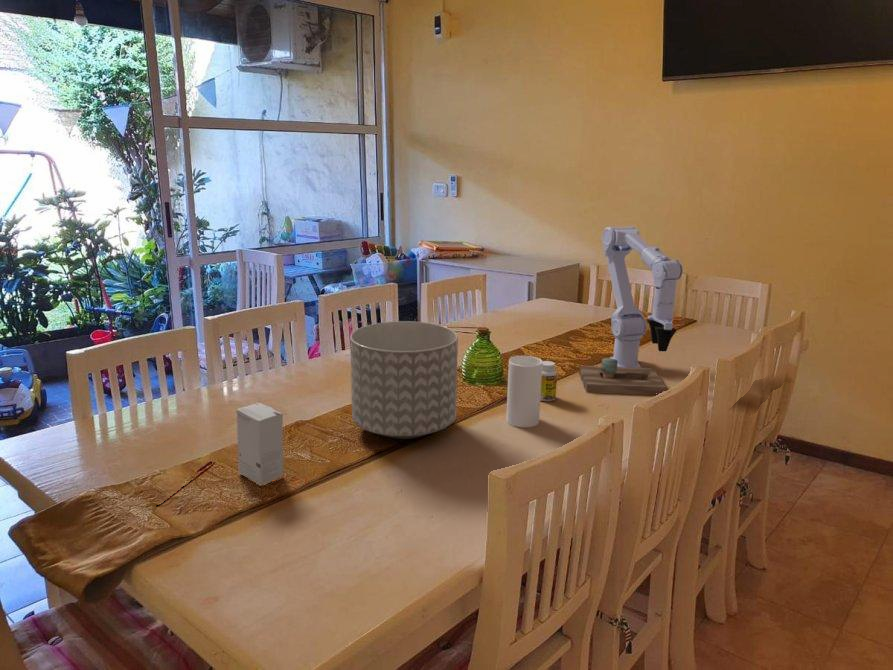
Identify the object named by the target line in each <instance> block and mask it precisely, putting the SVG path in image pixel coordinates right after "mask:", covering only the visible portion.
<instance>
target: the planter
mask: <svg viewBox="0 0 893 670" xmlns="http://www.w3.org/2000/svg"><path fill="white" fill-rule="evenodd" d="M349 337H350V338H349V343H350V344H349V345H350V346H349V347H350V348H349V349H350V352H349V353H350V386H351V387H350V389H351V390H350V391H351V393H350V394H351V417H352V421H353V422H354V424H356V425H357V426H358V427H359V428H361V429H362V430H365V431H367V432H370V433H373V434H377V435H381V436H383V437H387V438H392V439H398V440H406V439H407V440H409V439H414V438H415V439H416V438H420V437H421V438H422V437H424V436H426V435H427V436H428V435H429V434H433V433H434V434H435V433H436V432H439V431H441V430H444V429H447V428H448V427H449V426H451V425H452V424H453V423H454V422H455V420H456V418H457V402H458V401H457V400H458V399H457V397H458V396H457V394H458V393H457V392H458V356H459V355H458V353H459V352H458V351H459V347H458V346H459V345H458V344H459V335H458V333H457V332H456V331H454V330H453V329H452V328H450V327H447V326H444V325H440V324H436V323H431V322H424V321H411V320H410V321H409V320H406V321H405V320H404V321H403V320H400V321H398V320H397V321H385V322H378V323H377V322H376V323H373V324H368V325H364V326H361V327H359V328H357V329H355V330H353V332H351V333H350V335H349Z"/></svg>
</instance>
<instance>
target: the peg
mask: <svg viewBox="0 0 893 670" xmlns="http://www.w3.org/2000/svg"><path fill="white" fill-rule="evenodd" d="M617 363H618V361H617V360H615V359H611V358H610V357H609V358H607V357H606V358H605V357H604V358H602V359H601V366H602V367H601V370H602V371H603V378H614V373H615V372H617Z"/></svg>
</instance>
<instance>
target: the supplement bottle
mask: <svg viewBox="0 0 893 670" xmlns="http://www.w3.org/2000/svg"><path fill="white" fill-rule="evenodd" d="M542 362H543V364H542V381H541V397H540V402H552V401H554V400H555V399H556V397H557V396H556V394H557V383H558V370H557V369H556V363H555V362H553V361H551V360H549V361H548V360H542Z"/></svg>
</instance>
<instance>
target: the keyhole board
mask: <svg viewBox="0 0 893 670" xmlns="http://www.w3.org/2000/svg"><path fill="white" fill-rule="evenodd" d="M601 367H602V365H601V366H598V365H579V367H578V375H579V378H580V380H581V382H582V384H583V387H584V389H585V392H586V393H597V394H598V393H599V394H601V393H603V394H627V395H630V394H631V395H653V394H654V396H657V395H656V393H657V394H659V393H662V392H663V391H666V390H667V386H666V385H665V382H663V380H662V379H661V377H660V376H659V375H658V374H657V372H656V371H655V369H654V368H653V367H641V368H631V367H617V372H615V373H614V378H603V371H602V370H601Z"/></svg>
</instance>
